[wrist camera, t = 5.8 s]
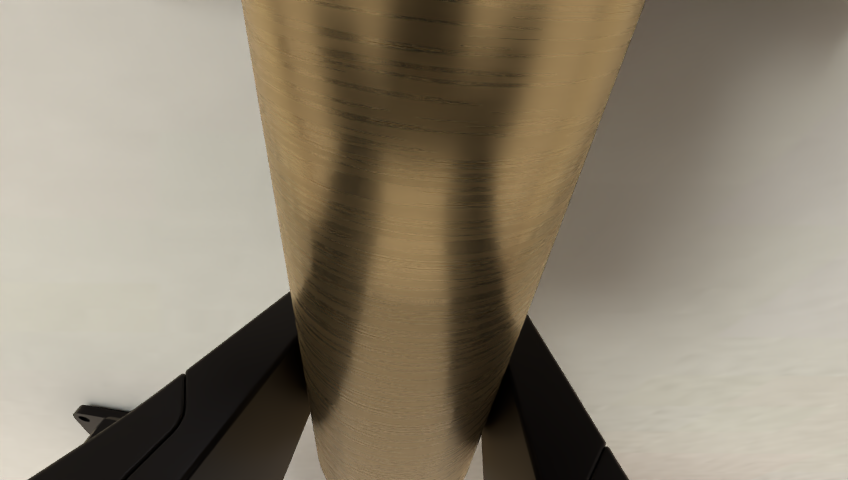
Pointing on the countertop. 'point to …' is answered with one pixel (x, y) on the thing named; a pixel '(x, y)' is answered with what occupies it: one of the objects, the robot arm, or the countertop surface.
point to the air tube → (422, 201)
